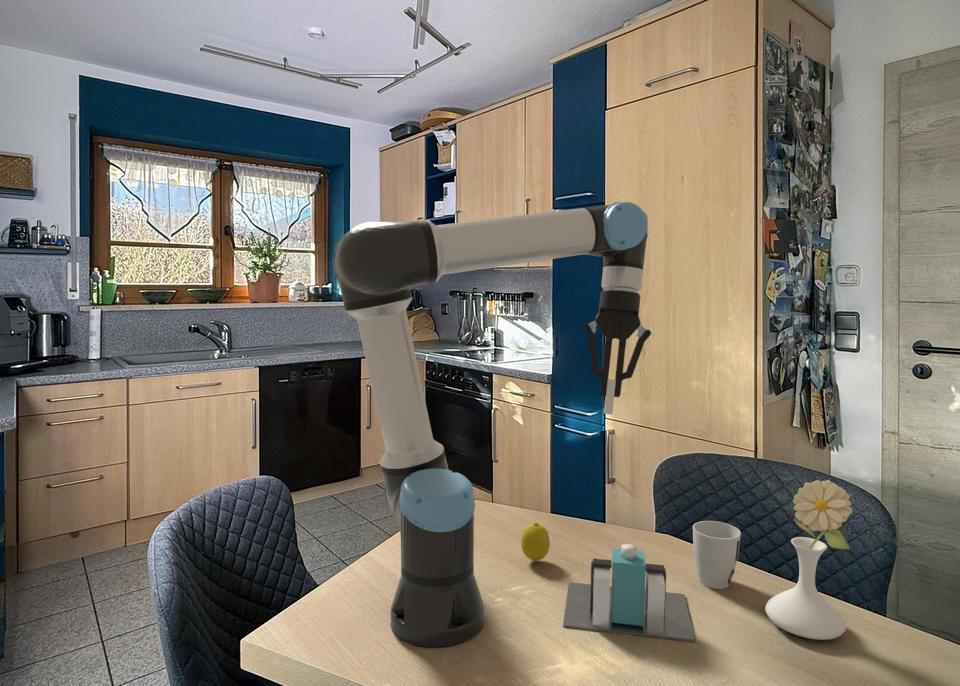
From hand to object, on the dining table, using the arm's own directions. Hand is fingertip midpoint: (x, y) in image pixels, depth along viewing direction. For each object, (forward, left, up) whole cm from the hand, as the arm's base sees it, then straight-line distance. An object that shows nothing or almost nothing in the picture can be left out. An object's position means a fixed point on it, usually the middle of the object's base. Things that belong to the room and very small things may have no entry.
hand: (608, 413), depth 117 cm
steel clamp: (+4, -18, -30) cm, 35 cm away
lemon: (-13, -3, -30) cm, 33 cm away
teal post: (+4, -21, -30) cm, 37 cm away
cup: (+20, -4, -30) cm, 36 cm away
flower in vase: (+32, -17, -30) cm, 47 cm away
